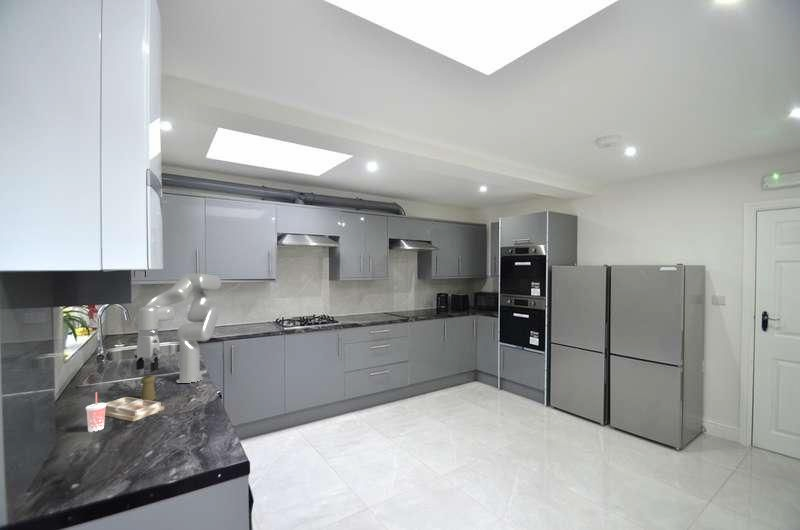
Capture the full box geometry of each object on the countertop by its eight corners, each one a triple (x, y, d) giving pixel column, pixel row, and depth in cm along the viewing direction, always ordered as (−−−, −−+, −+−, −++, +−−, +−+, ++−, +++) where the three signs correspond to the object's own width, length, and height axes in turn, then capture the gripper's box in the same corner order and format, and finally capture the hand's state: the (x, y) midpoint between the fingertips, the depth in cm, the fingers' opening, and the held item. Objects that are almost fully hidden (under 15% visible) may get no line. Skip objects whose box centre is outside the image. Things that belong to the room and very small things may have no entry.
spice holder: (127, 403, 163) (127, 395, 163) (164, 409, 155) (164, 401, 155) (95, 414, 151) (95, 405, 151) (132, 421, 143) (132, 412, 143)
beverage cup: (110, 427, 138) (110, 390, 138) (91, 433, 132) (91, 395, 132) (100, 424, 140) (100, 388, 140) (81, 431, 134) (82, 393, 135)
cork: (147, 402, 164) (147, 378, 165) (136, 401, 166) (137, 377, 166) (159, 397, 170) (159, 374, 171) (148, 397, 172) (148, 374, 172)
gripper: (168, 332, 169) (167, 369, 168) (143, 331, 175) (142, 366, 174) (152, 335, 162) (151, 373, 161) (127, 333, 168) (126, 370, 167)
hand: (147, 369), depth 168 cm, fingers open, 9 cm apart
